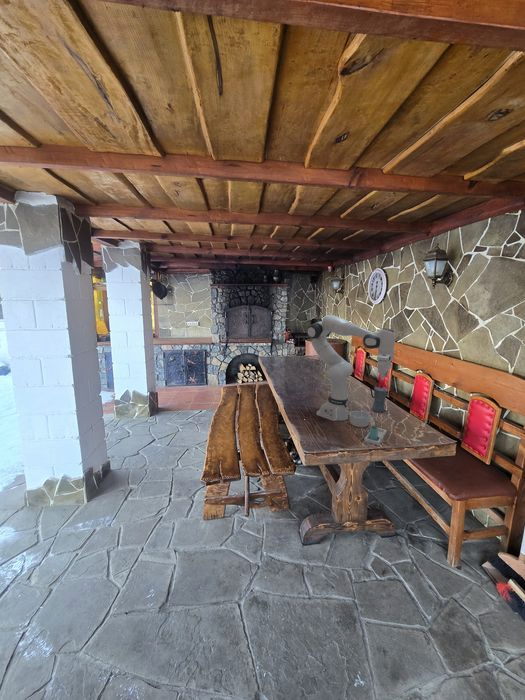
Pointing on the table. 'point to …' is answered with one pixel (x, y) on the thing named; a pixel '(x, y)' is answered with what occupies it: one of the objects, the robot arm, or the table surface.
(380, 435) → the socket panel
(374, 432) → the teal plug
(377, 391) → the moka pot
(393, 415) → the table surface
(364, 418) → the ramekin
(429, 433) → the table surface
